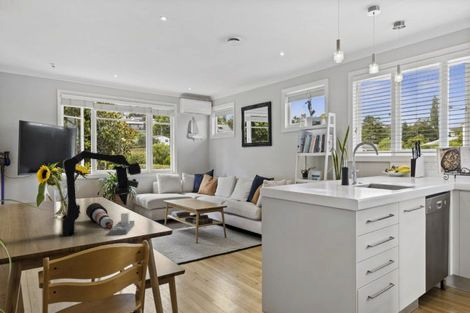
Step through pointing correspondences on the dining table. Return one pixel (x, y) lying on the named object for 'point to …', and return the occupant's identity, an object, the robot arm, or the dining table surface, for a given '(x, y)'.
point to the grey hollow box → (121, 228)
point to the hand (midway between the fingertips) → (125, 203)
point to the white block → (125, 217)
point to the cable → (99, 215)
